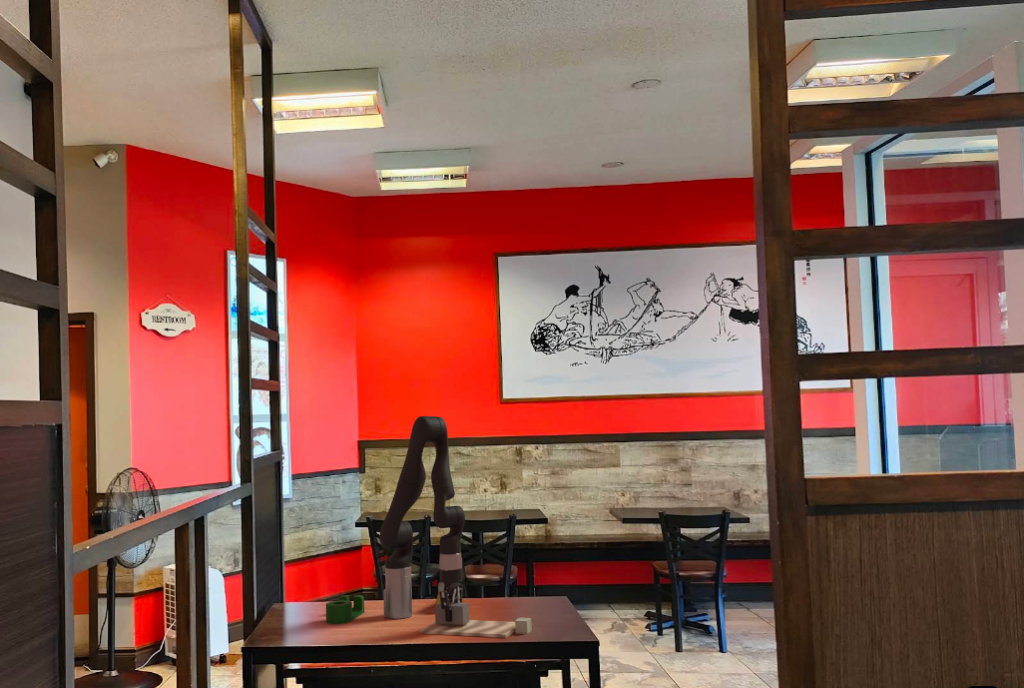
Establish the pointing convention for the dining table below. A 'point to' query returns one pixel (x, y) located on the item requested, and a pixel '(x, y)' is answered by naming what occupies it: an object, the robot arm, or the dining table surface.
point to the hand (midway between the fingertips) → (452, 619)
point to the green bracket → (344, 609)
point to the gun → (440, 588)
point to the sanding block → (453, 614)
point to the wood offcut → (523, 625)
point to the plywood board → (473, 629)
